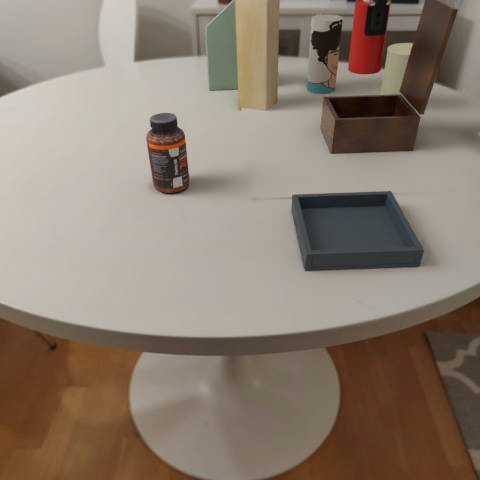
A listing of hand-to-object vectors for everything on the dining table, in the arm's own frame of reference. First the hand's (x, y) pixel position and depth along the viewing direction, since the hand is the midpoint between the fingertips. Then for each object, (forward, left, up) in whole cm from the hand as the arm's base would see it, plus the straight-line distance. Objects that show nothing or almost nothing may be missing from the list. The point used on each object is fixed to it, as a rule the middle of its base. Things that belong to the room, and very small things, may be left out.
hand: (369, 29), depth 73 cm
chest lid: (-10, 0, -4) cm, 11 cm away
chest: (-2, 0, -19) cm, 19 cm away
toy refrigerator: (+17, -21, -19) cm, 33 cm away
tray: (+7, +30, -19) cm, 36 cm away
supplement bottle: (+33, +14, -19) cm, 41 cm away
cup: (+1, -31, -19) cm, 37 cm away
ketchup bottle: (0, 0, -6) cm, 6 cm away
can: (-14, -18, -19) cm, 30 cm away
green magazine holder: (+20, -37, -19) cm, 46 cm away
